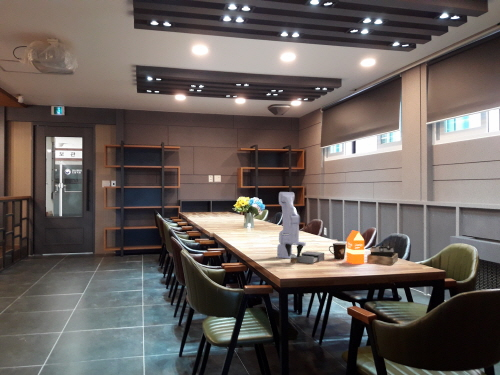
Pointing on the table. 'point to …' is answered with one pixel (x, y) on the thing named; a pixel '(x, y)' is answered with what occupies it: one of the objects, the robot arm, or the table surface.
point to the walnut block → (293, 260)
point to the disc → (293, 256)
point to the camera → (382, 251)
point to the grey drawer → (307, 259)
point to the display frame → (382, 259)
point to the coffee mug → (338, 250)
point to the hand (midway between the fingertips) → (293, 256)
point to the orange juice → (355, 248)
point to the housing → (314, 255)
